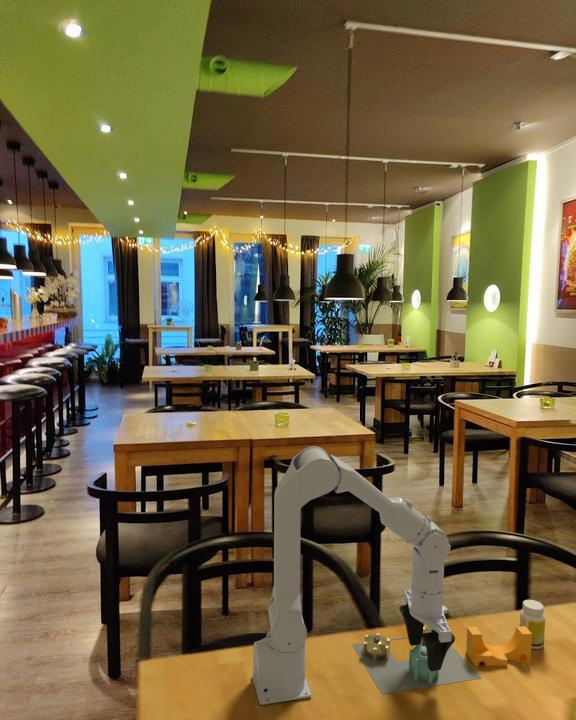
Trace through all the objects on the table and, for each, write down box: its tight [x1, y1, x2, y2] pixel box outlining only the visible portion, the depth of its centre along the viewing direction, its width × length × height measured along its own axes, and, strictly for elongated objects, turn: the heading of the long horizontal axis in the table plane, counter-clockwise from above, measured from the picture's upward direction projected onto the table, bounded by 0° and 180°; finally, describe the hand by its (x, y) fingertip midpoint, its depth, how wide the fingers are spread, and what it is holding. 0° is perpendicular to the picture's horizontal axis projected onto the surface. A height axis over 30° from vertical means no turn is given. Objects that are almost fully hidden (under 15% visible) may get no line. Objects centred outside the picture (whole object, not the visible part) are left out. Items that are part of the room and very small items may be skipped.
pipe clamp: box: [465, 625, 532, 667], centre depth 106 cm, size 12×4×6 cm, turn 93°
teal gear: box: [408, 645, 439, 683], centre depth 101 cm, size 5×5×4 cm
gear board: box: [351, 626, 482, 695], centre depth 105 cm, size 20×15×4 cm
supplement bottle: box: [519, 599, 546, 650], centre depth 113 cm, size 5×5×8 cm
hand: (424, 656), depth 101 cm, fingers open, 7 cm apart
